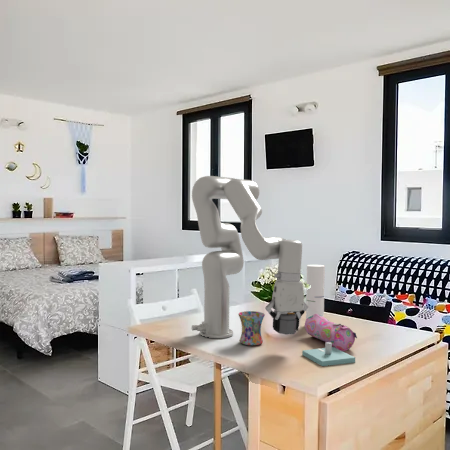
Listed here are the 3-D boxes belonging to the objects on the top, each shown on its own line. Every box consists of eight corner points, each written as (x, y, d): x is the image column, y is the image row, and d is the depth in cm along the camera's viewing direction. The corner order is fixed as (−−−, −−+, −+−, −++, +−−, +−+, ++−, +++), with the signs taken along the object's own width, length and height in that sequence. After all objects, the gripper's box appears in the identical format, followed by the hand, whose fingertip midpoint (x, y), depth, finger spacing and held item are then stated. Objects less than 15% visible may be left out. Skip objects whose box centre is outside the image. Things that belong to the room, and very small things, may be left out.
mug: (265, 347, 165) (266, 316, 165) (238, 347, 165) (239, 316, 165) (262, 338, 177) (262, 309, 177) (237, 337, 177) (237, 309, 177)
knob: (281, 334, 156) (282, 315, 156) (272, 329, 162) (273, 310, 162) (298, 333, 159) (299, 314, 158) (289, 328, 165) (290, 310, 164)
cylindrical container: (325, 328, 193) (326, 266, 192) (307, 328, 193) (308, 266, 193) (321, 324, 200) (322, 264, 200) (304, 323, 201) (305, 264, 200)
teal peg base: (322, 366, 146) (322, 350, 146) (302, 354, 157) (302, 339, 157) (355, 362, 150) (355, 346, 150) (333, 351, 161) (333, 336, 161)
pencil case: (357, 351, 163) (358, 324, 163) (334, 353, 160) (334, 326, 160) (324, 335, 183) (324, 311, 183) (303, 337, 180) (303, 313, 180)
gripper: (270, 279, 153) (267, 334, 154) (317, 278, 159) (313, 331, 160) (260, 275, 160) (257, 328, 161) (305, 274, 166) (302, 325, 167)
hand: (285, 329), depth 160 cm, fingers closed on knob, 6 cm apart
